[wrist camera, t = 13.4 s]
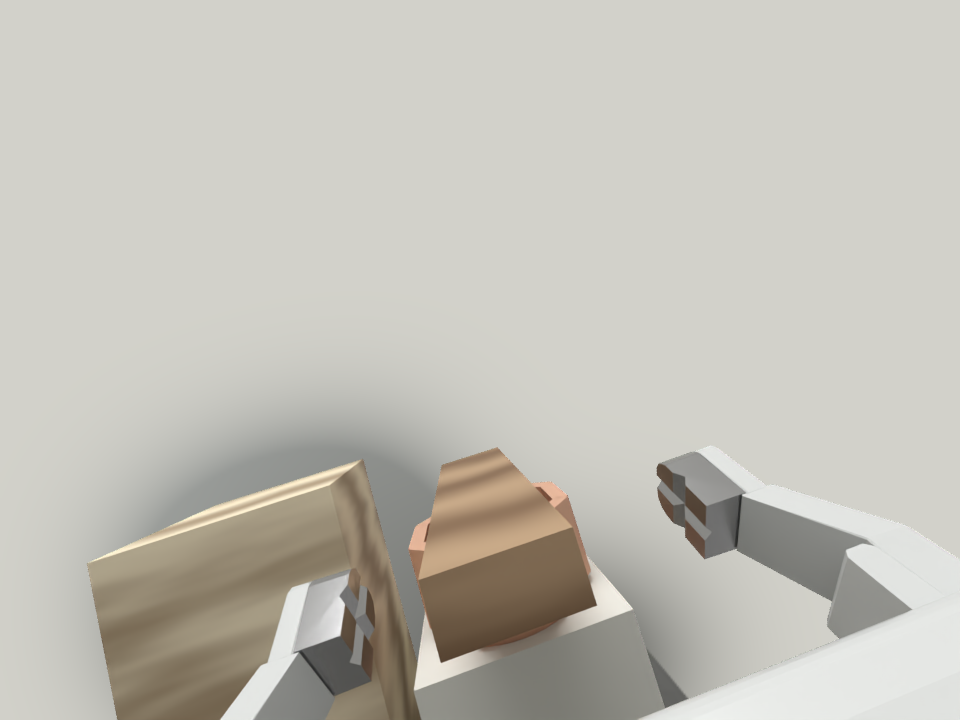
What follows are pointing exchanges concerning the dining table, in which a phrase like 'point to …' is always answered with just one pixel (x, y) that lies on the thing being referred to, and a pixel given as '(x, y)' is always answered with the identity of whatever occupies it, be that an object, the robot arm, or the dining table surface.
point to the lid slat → (496, 557)
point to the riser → (547, 670)
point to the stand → (246, 600)
